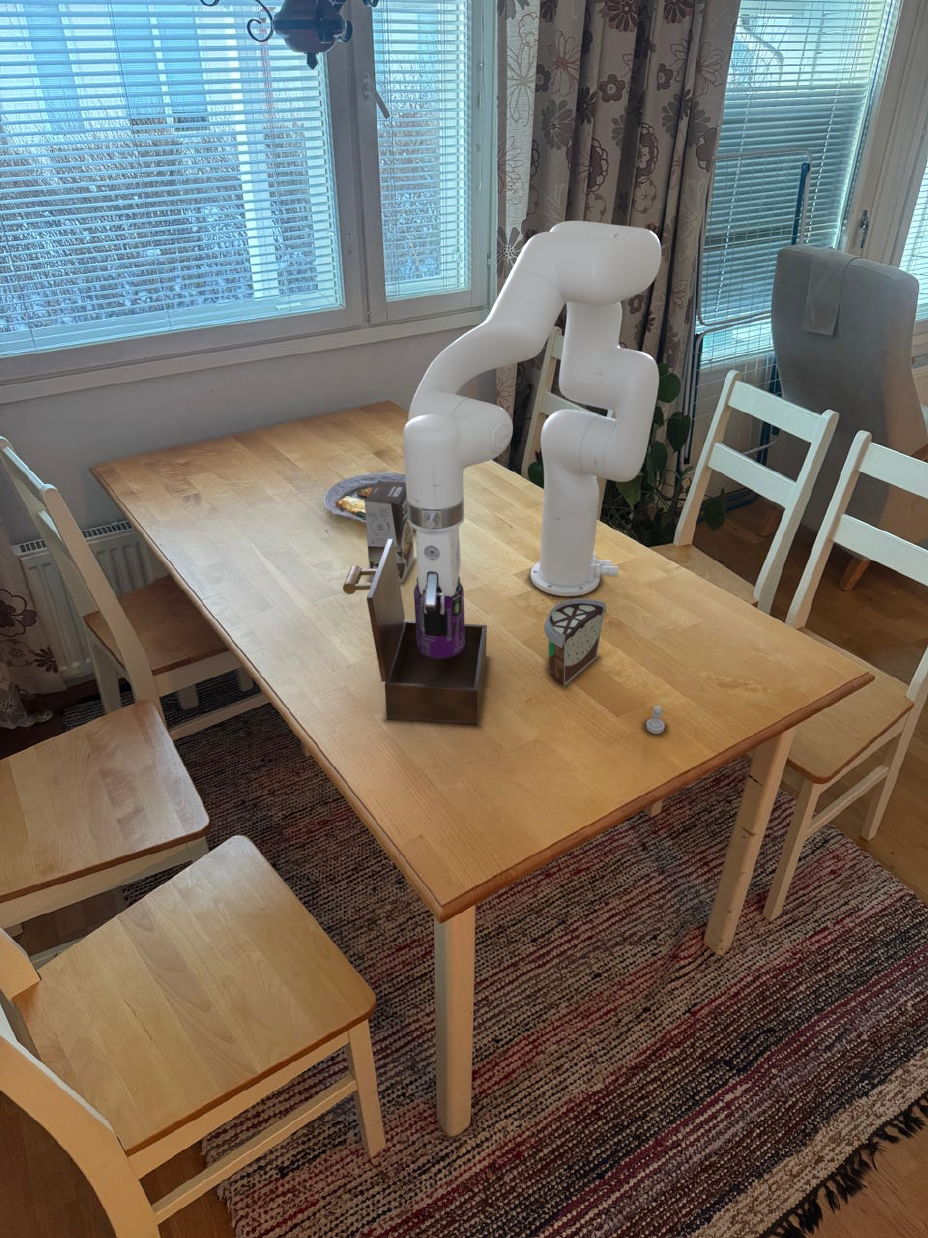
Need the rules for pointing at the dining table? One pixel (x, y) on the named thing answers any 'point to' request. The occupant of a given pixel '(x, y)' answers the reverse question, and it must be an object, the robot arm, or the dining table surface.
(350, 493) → the food plate
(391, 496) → the coffee box
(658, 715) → the pawn
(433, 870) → the dining table surface
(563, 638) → the food container
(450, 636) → the beverage can
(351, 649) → the dining table surface
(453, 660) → the chest
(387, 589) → the lid
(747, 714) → the dining table surface
